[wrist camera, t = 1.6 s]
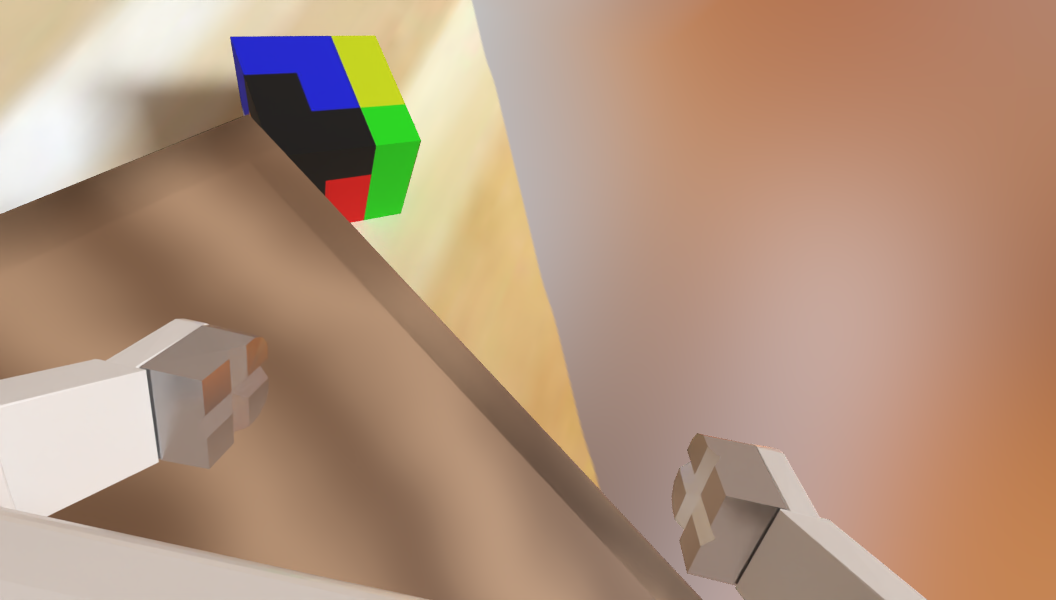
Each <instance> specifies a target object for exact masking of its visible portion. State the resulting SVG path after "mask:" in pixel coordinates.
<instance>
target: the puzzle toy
mask: <svg viewBox="0 0 1056 600" xmlns="http://www.w3.org/2000/svg"><path fill="white" fill-rule="evenodd" d="M230 39H231V45H232V51H233V57H234V63H235V69H236V75H237V81H238V87H239V93H240V99H241V105H242V111H243V116H245V115H247V114H249V115H250V116H251V117H252V119H253V120H254V121H255V122H256V123H257V124H258V125H259V126H260V127H261V128H262V129H263V130H264V131H265V132H266V134H267V135H268V136H269V137H270V138H271V139H272V140H273V141H274V142H275V143H276V144H277V145H278V146H279V147H280V148H281V150H282V151H283V152H284V153H285V154H286V155H287V156H288V157H289V158H290V159H291V160H292V161H293V162H294V163H295V165H296V166H297V167H298V168H299V169H300V170H301V171H302V172H303V173H304V174H305V175H306V176H307V177H308V178H309V179H310V181H311V182H312V183H313V184H314V185H315V186H316V187H317V188H318V189H319V190H320V191H321V192H322V193H323V194H324V196H325V197H326V198H327V199H328V200H329V201H330V202H331V203H332V204H333V205H334V206H335V207H336V208H337V209H338V211H339V212H340V213H341V214H342V215H343V216H344V217H345V218H346V219H347V220H348V221H349V222H350V223H351V222H356V221H361V220H367V219H372V218H378V217H383V216H389V215H394V214H400V213H401V211H402V207H403V203H404V200H405V196H406V193H407V189H408V186H409V182H410V178H411V175H412V171H413V168H414V164H415V161H416V157H417V153H418V150H419V146H420V143H421V139H420V137H419V135H418V133H417V130H416V128H415V126H414V123H413V121H412V119H411V116H410V114H409V112H408V110H407V107H406V105H405V103H404V100H403V98H402V96H401V94H400V91H399V89H398V87H397V84H396V82H395V80H394V78H393V75H392V73H391V71H390V68H389V66H388V64H387V62H386V59H385V57H384V55H383V52H382V50H381V48H380V46H379V43H378V41H377V39H376V36H260V37H230Z"/></svg>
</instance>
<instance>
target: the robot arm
mask: <svg viewBox="0 0 1056 600" xmlns="http://www.w3.org/2000/svg"><path fill="white" fill-rule="evenodd" d="M267 358H268V347H267V342H266V341H265V339H264V338H263V337H261V336H257V335H253V334H248V333H244V332H240V331H236V330H232V329H228V328H224V327H220V326H215V325H209V324H207V323H203V322H198V321H194V320H189V319H174V320H173V321H171V322H169V323H168V324H166V325H164V326H163V327H161V328H159V329H158V330H156V331H154V332H153V333H151V334H149V335H148V336H146V337H144V338H143V339H141V340H139V341H138V342H136V343H134V344H133V345H131V346H129V347H128V348H126V349H124V350H123V351H121V352H119V353H118V354H116V355H114V356H113V357H111V358H109V359H108V360H106V361H104V360H99V359H93V360H89V361H84V362H80V363H75V364H70V365H66V366H61V367H57V368H52V369H47V370H43V371H38V372H34V373H29V374H24V375H20V376H15V377H11V378H6V379H1V380H0V600H429V599H424V598H420V597H415V596H411V595H406V594H401V593H397V592H392V591H387V590H383V589H378V588H374V587H369V586H364V585H360V584H355V583H351V582H346V581H341V580H337V579H332V578H327V577H323V576H318V575H314V574H309V573H304V572H300V571H295V570H291V569H286V568H281V567H277V566H272V565H267V564H263V563H258V562H254V561H249V560H244V559H240V558H235V557H231V556H226V555H221V554H217V553H212V552H207V551H203V550H198V549H194V548H189V547H184V546H180V545H175V544H171V543H166V542H161V541H157V540H152V539H148V538H143V537H138V536H134V535H129V534H124V533H120V532H115V531H111V530H106V529H101V528H97V527H92V526H88V525H83V524H78V523H74V522H69V521H65V520H60V519H55V518H51V517H47V516H49V515H51V514H53V513H55V512H57V511H59V510H61V509H63V508H66V507H68V506H70V505H72V504H74V503H76V502H78V501H80V500H82V499H84V498H86V497H88V496H90V495H92V494H94V493H96V492H99V491H101V490H103V489H105V488H107V487H109V486H111V485H113V484H115V483H117V482H119V481H121V480H123V479H125V478H127V477H129V476H132V475H134V474H136V473H138V472H140V471H142V470H144V469H146V468H148V467H150V466H152V465H154V464H156V463H158V462H159V460H163V461H168V462H174V463H179V464H184V465H190V466H195V467H200V468H206V469H210V468H211V467H212V466H213V465H214V464H215V463H216V462H217V461H218V460H219V458H220V457H221V456H222V455H223V454H224V453H225V452H226V451H227V450H228V449H229V448H230V447H231V446H232V445H233V444H234V432H236V431H239V430H241V429H244V428H247V427H249V426H250V425H251V424H252V423H253V422H254V421H255V419H256V418H257V417H258V416H259V414H260V412H261V410H262V408H263V406H264V404H265V402H266V399H267V394H268V389H269V378H268V376H267V375H266V374H265V372H264V371H263V369H262V368H261V365H262V364H263V363H264V361H265V360H266V359H267ZM687 451H688V454H689V457H690V460H691V461H690V462H689V463H687V464H686V465H684V466H682V467H680V468H679V471H678V473H677V476H676V478H675V481H674V485H673V492H672V508H673V513H674V518H675V520H676V521H677V523H678V524H679V525H680V526H681V527H682V528H683V529H684V531H683V534H682V536H681V538H680V545H681V549H682V553H683V557H684V561H685V566H686V570H687V573H688V574H691V575H695V576H699V577H703V578H707V579H711V580H716V581H720V582H724V583H728V584H732V585H736V590H737V591H738V592H739V593H740V595H741V596H742V597H743V599H744V600H927V599H926V598H924V597H923V596H922V595H921V594H919V593H918V592H917V591H915V589H913V588H912V587H911V586H910V585H908V584H907V583H906V582H905V581H904V580H902V579H901V578H900V577H898V576H897V575H896V574H895V573H894V572H893V571H891V570H890V569H889V568H888V567H886V566H885V565H884V564H883V563H881V562H880V561H879V560H878V559H877V558H875V557H874V556H873V555H872V554H870V553H869V552H868V551H867V550H866V549H864V548H863V547H862V546H861V545H859V544H858V543H857V542H856V541H854V540H853V539H852V538H851V537H850V536H848V535H847V534H846V533H845V532H844V531H842V530H841V529H840V528H839V527H837V526H836V525H835V524H834V523H832V522H831V521H830V520H828V519H824V518H820V517H819V515H818V513H817V512H816V510H815V508H814V506H813V504H812V502H811V501H810V499H809V497H808V496H807V494H806V492H805V490H804V488H803V487H802V485H801V483H800V481H799V480H798V478H797V476H796V474H795V472H794V471H793V469H792V467H791V465H790V463H789V462H788V460H787V458H786V456H785V455H784V453H782V452H781V451H780V450H779V449H776V448H771V447H766V446H760V445H755V444H746V443H741V442H737V441H732V440H727V439H722V438H717V437H712V436H708V435H703V434H698V433H697V434H696V435H695V437H694V438H693V439H692V441H691V443H690V445H689V447H688V449H687Z"/></svg>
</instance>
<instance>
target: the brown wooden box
mask: <svg viewBox="0 0 1056 600" xmlns="http://www.w3.org/2000/svg"><path fill="white" fill-rule="evenodd" d="M174 319H189V320H194V321H198V322H203V323H207V324H209V325H215V326H220V327H224V328H228V329H232V330H236V331H240V332H244V333H248V334H253V335H257V336H261V337H263V338H264V339H265V341H266V342H267V347H268V358H267V359H266V360H265V361H264V363H263V364H262V365H261V368H262V369H263V371H264V372H265V374H266V375H267V376H268V378H269V389H268V394H267V399H266V402H265V404H264V406H263V408H262V410H261V412H260V414H259V416H258V417H257V418H256V419H255V421H254V422H253V423H252V424H251V425H250V426H249V427H247V428H244V429H241V430H239V431H236V432H234V444H233V445H232V446H231V447H230V448H229V449H228V450H227V451H226V452H225V453H224V454H223V455H222V456H221V457H220V458H219V460H218V461H217V462H216V463H215V464H214V465H213V466H212V467H211V468H210V469H206V468H200V467H195V466H190V465H184V464H179V463H174V462H168V461H163V460H159V462H158V463H156V464H154V465H152V466H150V467H148V468H146V469H144V470H142V471H140V472H138V473H136V474H134V475H132V476H129V477H127V478H125V479H123V480H121V481H119V482H117V483H115V484H113V485H111V486H109V487H107V488H105V489H103V490H101V491H99V492H96V493H94V494H92V495H90V496H88V497H86V498H84V499H82V500H80V501H78V502H76V503H74V504H72V505H70V506H68V507H66V508H63V509H61V510H59V511H57V512H55V513H53V514H51V515H49V516H47V517H51V518H55V519H60V520H65V521H69V522H74V523H78V524H83V525H88V526H92V527H97V528H101V529H106V530H111V531H115V532H120V533H124V534H129V535H134V536H138V537H143V538H148V539H152V540H157V541H161V542H166V543H171V544H175V545H180V546H184V547H189V548H194V549H198V550H203V551H207V552H212V553H217V554H221V555H226V556H231V557H235V558H240V559H244V560H249V561H254V562H258V563H263V564H267V565H272V566H277V567H281V568H286V569H291V570H295V571H300V572H304V573H309V574H314V575H318V576H323V577H327V578H332V579H337V580H341V581H346V582H351V583H355V584H360V585H364V586H369V587H374V588H378V589H383V590H387V591H392V592H397V593H401V594H406V595H411V596H415V597H420V598H424V599H429V600H702V599H701V598H700V596H699V595H698V594H697V593H696V592H695V591H694V590H693V589H692V588H691V587H690V586H689V585H688V584H687V583H686V581H684V579H683V578H682V577H681V576H680V575H679V574H678V573H677V572H676V571H675V570H674V569H673V568H672V567H671V565H670V564H669V563H668V562H667V561H666V560H665V559H664V558H663V557H662V556H661V555H660V554H659V553H658V552H657V550H656V549H655V548H654V547H653V546H652V545H651V544H650V543H649V542H648V541H647V540H646V539H645V538H644V537H643V536H642V534H641V533H640V532H639V531H638V530H637V529H636V528H635V527H634V526H633V525H632V524H631V523H630V522H629V521H628V519H627V518H626V517H625V516H624V515H623V514H622V513H621V512H620V511H619V510H618V509H617V508H616V507H615V506H614V504H613V503H612V502H611V501H610V500H609V499H608V498H607V497H606V496H605V495H604V494H603V493H602V492H601V491H600V490H599V488H598V487H597V486H596V485H595V484H594V483H593V482H592V481H591V480H590V479H589V478H588V477H587V476H586V475H585V473H584V472H583V471H582V470H581V469H580V468H579V467H578V466H577V465H576V464H575V463H574V462H573V461H572V460H571V459H570V457H569V456H568V455H567V454H566V453H565V452H564V451H563V450H562V449H561V448H560V447H559V446H558V445H557V444H556V442H555V441H554V440H553V439H552V438H551V437H550V436H549V435H548V434H547V433H546V432H545V431H544V430H543V429H542V428H541V426H540V425H539V424H538V423H537V422H536V421H535V420H534V419H533V418H532V417H531V416H530V415H529V414H528V413H527V411H526V410H525V409H524V408H523V407H522V406H521V405H520V404H519V403H518V402H517V401H516V400H515V399H514V398H513V397H512V395H511V394H510V393H509V392H508V391H507V390H506V389H505V388H504V387H503V386H502V385H501V384H500V383H499V382H498V380H497V379H496V378H495V377H494V376H493V375H492V374H491V373H490V372H489V371H488V370H487V369H486V368H485V367H484V366H483V364H482V363H481V362H480V361H479V360H478V359H477V358H476V357H475V356H474V355H473V354H472V353H471V352H470V351H469V349H468V348H467V347H466V346H465V345H464V344H463V343H462V342H461V341H460V340H459V339H458V338H457V337H456V336H455V335H454V333H453V332H452V331H451V330H450V329H449V328H448V327H447V326H446V325H445V324H444V323H443V322H442V321H441V320H440V318H439V317H438V316H437V315H436V314H435V313H434V312H433V311H432V310H431V309H430V308H429V307H428V306H427V305H426V304H425V302H424V301H423V300H422V299H421V298H420V297H419V296H418V295H417V294H416V293H415V292H414V291H413V290H412V289H411V287H410V286H409V285H408V284H407V283H406V282H405V281H404V280H403V279H402V278H401V277H400V276H399V275H398V274H397V273H396V271H395V270H394V269H393V268H392V267H391V266H390V265H389V264H388V263H387V262H386V261H385V260H384V259H383V258H382V256H381V255H380V254H379V253H378V252H377V251H376V250H375V249H374V248H373V247H372V246H371V245H370V244H369V243H368V242H367V240H366V239H365V238H364V237H363V236H362V235H361V234H360V233H359V232H358V231H357V230H356V229H355V228H354V227H353V225H352V224H351V223H350V222H349V221H348V220H347V219H346V218H345V217H344V216H343V215H342V214H341V213H340V212H339V211H338V209H337V208H336V207H335V206H334V205H333V204H332V203H331V202H330V201H329V200H328V199H327V198H326V197H325V196H324V194H323V193H322V192H321V191H320V190H319V189H318V188H317V187H316V186H315V185H314V184H313V183H312V182H311V181H310V179H309V178H308V177H307V176H306V175H305V174H304V173H303V172H302V171H301V170H300V169H299V168H298V167H297V166H296V165H295V163H294V162H293V161H292V160H291V159H290V158H289V157H288V156H287V155H286V154H285V153H284V152H283V151H282V150H281V148H280V147H279V146H278V145H277V144H276V143H275V142H274V141H273V140H272V139H271V138H270V137H269V136H268V135H267V134H266V132H265V131H264V130H263V129H262V128H261V127H260V126H259V125H258V124H257V123H256V122H255V121H254V120H253V119H252V117H251V116H250V115H249V114H247V115H245V116H242V117H240V118H237V119H235V120H232V121H230V122H227V123H225V124H222V125H220V126H217V127H215V128H213V129H210V130H208V131H205V132H203V133H200V134H198V135H195V136H193V137H190V138H188V139H185V140H183V141H180V142H178V143H175V144H173V145H170V146H168V147H165V148H163V149H161V150H158V151H156V152H153V153H151V154H148V155H146V156H143V157H141V158H138V159H136V160H133V161H131V162H128V163H126V164H123V165H121V166H118V167H116V168H114V169H111V170H109V171H106V172H104V173H101V174H99V175H96V176H94V177H91V178H89V179H86V180H84V181H81V182H79V183H76V184H74V185H71V186H69V187H66V188H64V189H62V190H59V191H57V192H54V193H52V194H49V195H47V196H44V197H42V198H39V199H37V200H34V201H32V202H29V203H27V204H24V205H22V206H19V207H17V208H15V209H12V210H10V211H7V212H5V213H2V214H0V380H1V379H6V378H11V377H15V376H20V375H24V374H29V373H34V372H38V371H43V370H47V369H52V368H57V367H61V366H66V365H70V364H75V363H80V362H84V361H89V360H93V359H99V360H104V361H106V360H108V359H109V358H111V357H113V356H114V355H116V354H118V353H119V352H121V351H123V350H124V349H126V348H128V347H129V346H131V345H133V344H134V343H136V342H138V341H139V340H141V339H143V338H144V337H146V336H148V335H149V334H151V333H153V332H154V331H156V330H158V329H159V328H161V327H163V326H164V325H166V324H168V323H169V322H171V321H173V320H174Z"/></svg>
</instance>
